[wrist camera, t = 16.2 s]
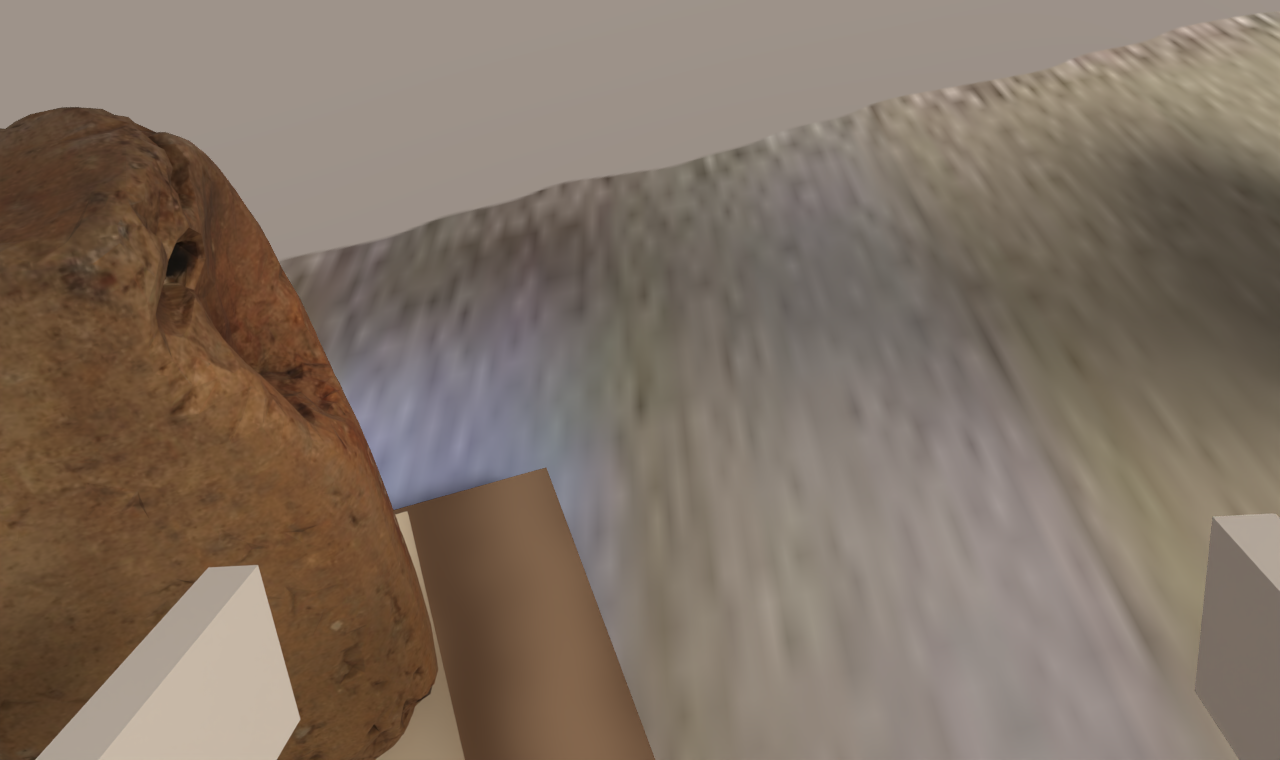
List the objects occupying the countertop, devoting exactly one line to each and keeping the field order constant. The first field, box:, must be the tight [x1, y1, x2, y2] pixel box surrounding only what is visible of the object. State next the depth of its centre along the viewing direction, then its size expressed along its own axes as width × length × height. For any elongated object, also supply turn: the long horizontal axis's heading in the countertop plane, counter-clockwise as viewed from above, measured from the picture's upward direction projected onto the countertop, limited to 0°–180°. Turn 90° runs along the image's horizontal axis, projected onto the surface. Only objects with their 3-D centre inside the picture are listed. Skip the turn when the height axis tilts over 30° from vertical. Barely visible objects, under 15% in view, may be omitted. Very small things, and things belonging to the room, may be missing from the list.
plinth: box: [376, 468, 655, 760], centre depth 33 cm, size 22×15×3 cm
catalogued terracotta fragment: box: [0, 107, 438, 760], centre depth 25 cm, size 11×8×20 cm
